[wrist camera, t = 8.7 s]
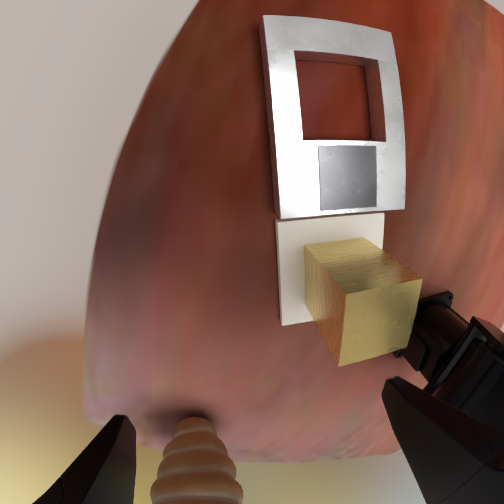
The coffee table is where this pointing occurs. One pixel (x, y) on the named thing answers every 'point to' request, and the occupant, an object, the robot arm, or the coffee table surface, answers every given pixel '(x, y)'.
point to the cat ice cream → (196, 468)
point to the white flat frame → (332, 151)
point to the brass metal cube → (359, 298)
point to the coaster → (310, 232)
